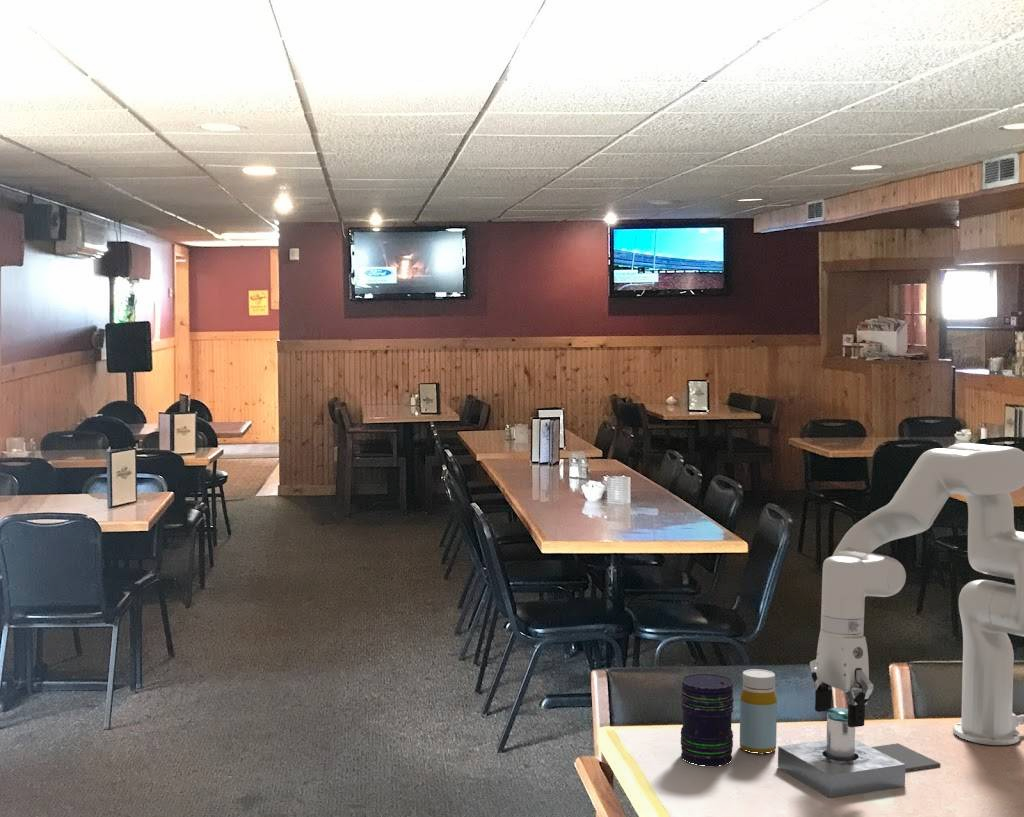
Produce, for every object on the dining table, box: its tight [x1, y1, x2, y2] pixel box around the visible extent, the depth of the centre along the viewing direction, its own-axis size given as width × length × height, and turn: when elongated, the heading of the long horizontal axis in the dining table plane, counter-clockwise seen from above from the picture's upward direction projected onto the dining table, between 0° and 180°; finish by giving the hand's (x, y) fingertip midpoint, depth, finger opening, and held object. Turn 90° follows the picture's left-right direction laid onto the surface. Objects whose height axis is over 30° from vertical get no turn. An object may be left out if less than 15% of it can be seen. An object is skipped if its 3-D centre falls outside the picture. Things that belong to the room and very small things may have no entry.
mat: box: [870, 742, 941, 772], centre depth 223 cm, size 12×12×1 cm
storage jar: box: [680, 673, 734, 766], centre depth 223 cm, size 10×10×15 cm
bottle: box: [739, 668, 778, 753], centre depth 228 cm, size 7×7×15 cm
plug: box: [826, 707, 856, 761], centre depth 214 cm, size 5×5×12 cm
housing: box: [777, 739, 906, 799], centre depth 214 cm, size 16×16×4 cm
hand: (839, 718), depth 213 cm, fingers open, 9 cm apart
